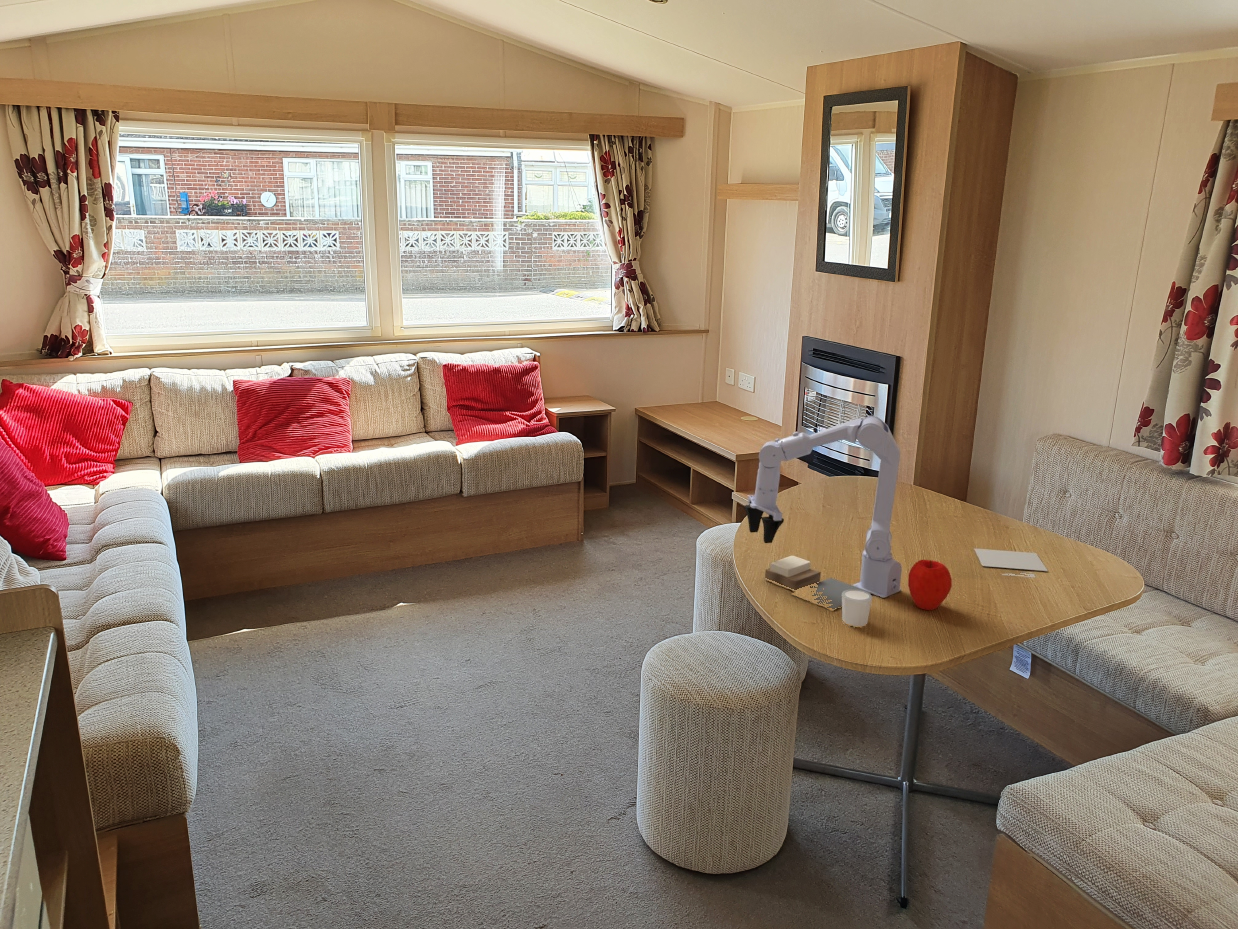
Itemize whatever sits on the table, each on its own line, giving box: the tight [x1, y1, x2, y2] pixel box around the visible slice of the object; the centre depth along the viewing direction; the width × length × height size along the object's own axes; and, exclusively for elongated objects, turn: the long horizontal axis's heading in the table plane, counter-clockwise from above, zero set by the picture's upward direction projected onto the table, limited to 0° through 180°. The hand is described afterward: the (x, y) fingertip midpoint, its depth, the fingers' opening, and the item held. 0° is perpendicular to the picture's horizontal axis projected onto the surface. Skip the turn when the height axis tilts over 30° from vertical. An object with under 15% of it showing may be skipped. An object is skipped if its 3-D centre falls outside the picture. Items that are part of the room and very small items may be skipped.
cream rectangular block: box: [769, 555, 812, 577], centre depth 235 cm, size 6×9×2 cm, turn 130°
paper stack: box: [973, 548, 1049, 578], centre depth 248 cm, size 23×25×1 cm
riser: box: [764, 567, 822, 590], centre depth 235 cm, size 10×10×3 cm
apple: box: [907, 559, 953, 611], centre depth 219 cm, size 10×10×12 cm
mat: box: [810, 577, 873, 609], centre depth 227 cm, size 13×16×1 cm
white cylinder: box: [841, 589, 873, 626], centre depth 211 cm, size 7×7×7 cm
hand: (760, 537), depth 237 cm, fingers open, 7 cm apart
